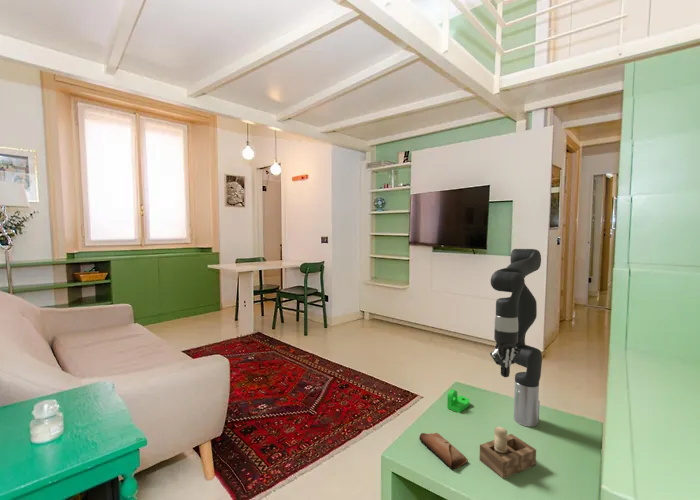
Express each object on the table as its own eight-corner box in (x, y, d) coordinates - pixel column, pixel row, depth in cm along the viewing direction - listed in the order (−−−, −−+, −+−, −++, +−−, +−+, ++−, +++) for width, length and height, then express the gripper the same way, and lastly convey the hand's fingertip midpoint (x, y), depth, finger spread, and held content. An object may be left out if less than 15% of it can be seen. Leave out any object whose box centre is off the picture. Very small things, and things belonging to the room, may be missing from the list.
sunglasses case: (470, 459, 116) (461, 449, 114) (458, 476, 114) (449, 466, 112) (435, 431, 133) (427, 422, 130) (424, 446, 130) (416, 436, 128)
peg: (499, 458, 118) (500, 425, 117) (509, 465, 114) (510, 432, 114) (491, 461, 116) (491, 428, 116) (500, 468, 113) (501, 435, 112)
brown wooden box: (511, 449, 125) (511, 433, 124) (535, 466, 115) (536, 449, 115) (479, 461, 118) (479, 444, 118) (502, 480, 109) (503, 462, 109)
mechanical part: (459, 413, 150) (459, 396, 149) (447, 408, 154) (447, 391, 153) (471, 403, 158) (472, 387, 157) (460, 399, 162) (460, 383, 162)
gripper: (510, 323, 122) (509, 369, 123) (483, 327, 116) (482, 375, 117) (528, 328, 115) (527, 377, 116) (501, 333, 110) (500, 384, 111)
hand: (505, 376), depth 117 cm, fingers closed
